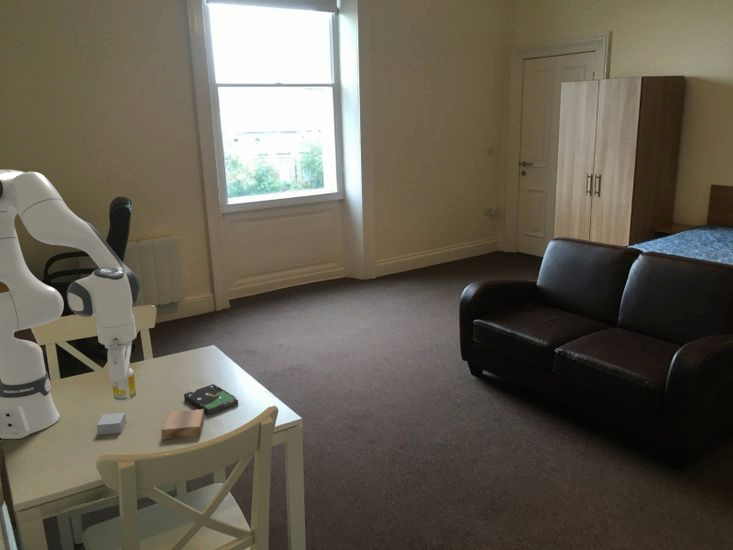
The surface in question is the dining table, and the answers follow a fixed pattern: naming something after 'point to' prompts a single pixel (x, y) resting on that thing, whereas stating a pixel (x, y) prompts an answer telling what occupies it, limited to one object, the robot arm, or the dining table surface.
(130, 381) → the supplement bottle
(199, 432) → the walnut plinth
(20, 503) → the dining table surface
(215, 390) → the disk drive
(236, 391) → the dining table surface
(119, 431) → the slate plinth
